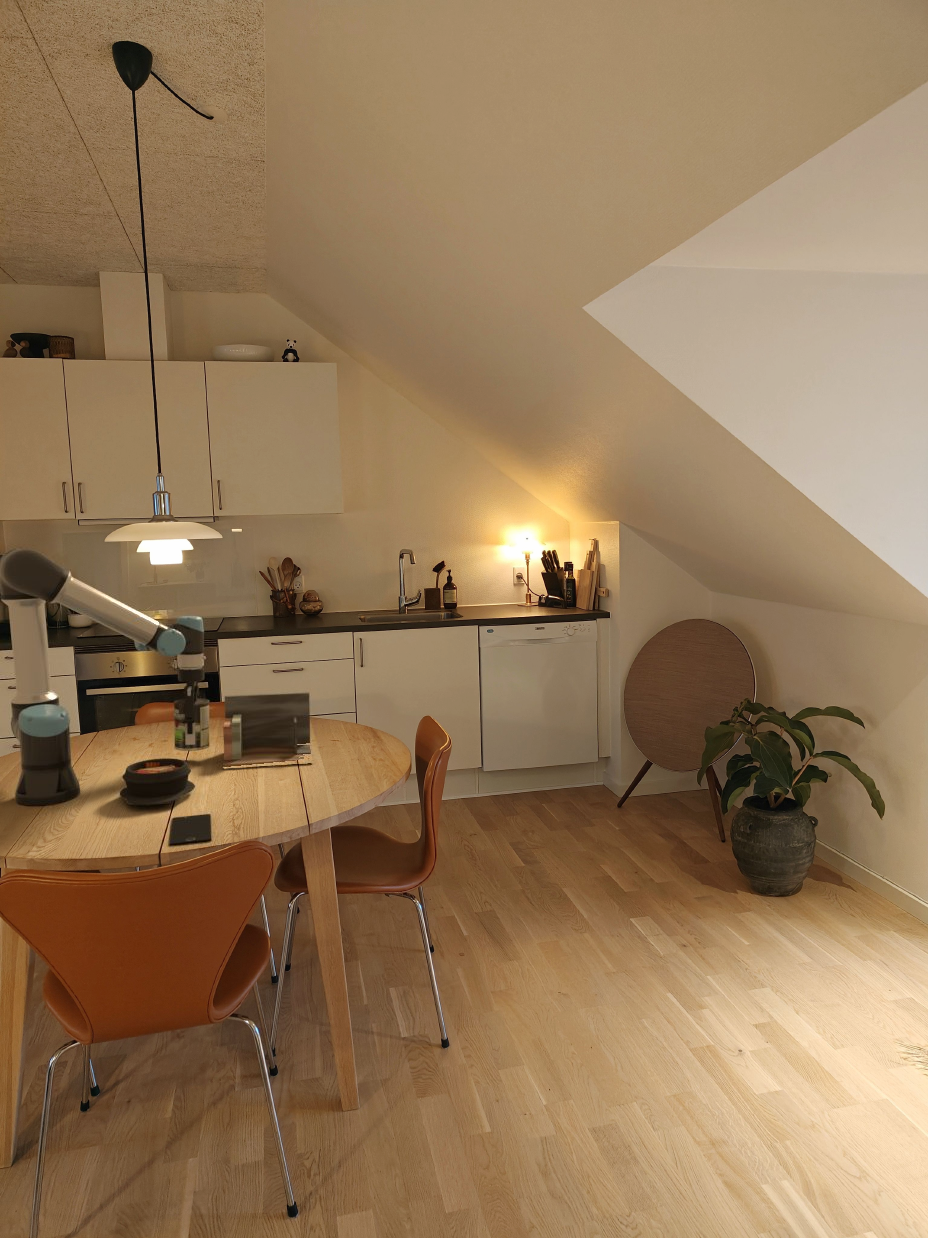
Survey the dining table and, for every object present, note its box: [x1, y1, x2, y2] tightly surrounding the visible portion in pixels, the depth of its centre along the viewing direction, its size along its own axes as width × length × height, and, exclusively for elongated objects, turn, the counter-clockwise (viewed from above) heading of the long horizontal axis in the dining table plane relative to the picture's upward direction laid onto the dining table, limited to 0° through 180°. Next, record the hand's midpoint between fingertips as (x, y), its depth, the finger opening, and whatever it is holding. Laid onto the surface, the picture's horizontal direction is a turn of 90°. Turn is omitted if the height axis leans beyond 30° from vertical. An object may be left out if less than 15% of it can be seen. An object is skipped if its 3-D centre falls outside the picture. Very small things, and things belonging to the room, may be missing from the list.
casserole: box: [119, 757, 196, 806], centre depth 216 cm, size 25×19×8 cm
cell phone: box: [169, 813, 213, 847], centre depth 192 cm, size 9×18×1 cm, turn 18°
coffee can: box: [173, 697, 210, 752], centre depth 250 cm, size 10×10×14 cm
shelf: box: [222, 691, 312, 768], centre depth 253 cm, size 20×26×18 cm
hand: (192, 740), depth 250 cm, fingers closed on coffee can, 10 cm apart
